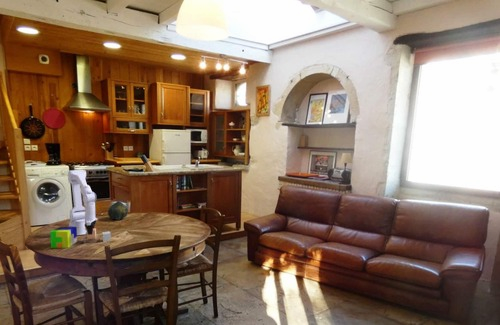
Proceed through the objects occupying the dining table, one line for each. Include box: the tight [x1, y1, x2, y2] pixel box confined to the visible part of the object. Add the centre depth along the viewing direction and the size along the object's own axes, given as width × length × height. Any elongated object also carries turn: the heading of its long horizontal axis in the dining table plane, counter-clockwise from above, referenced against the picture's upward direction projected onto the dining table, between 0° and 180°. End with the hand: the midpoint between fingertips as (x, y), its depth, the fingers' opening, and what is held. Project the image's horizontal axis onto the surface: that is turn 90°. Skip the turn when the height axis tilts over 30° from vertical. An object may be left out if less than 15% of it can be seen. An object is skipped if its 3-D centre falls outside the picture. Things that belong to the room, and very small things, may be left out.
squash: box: [107, 200, 129, 221], centre depth 242 cm, size 14×15×15 cm
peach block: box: [86, 227, 97, 239], centre depth 190 cm, size 4×4×5 cm
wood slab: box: [83, 234, 99, 244], centre depth 190 cm, size 7×7×3 cm
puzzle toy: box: [50, 226, 78, 249], centre depth 183 cm, size 10×10×10 cm
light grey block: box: [101, 230, 112, 243], centre depth 192 cm, size 4×4×5 cm
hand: (90, 233), depth 190 cm, fingers closed on peach block, 4 cm apart
